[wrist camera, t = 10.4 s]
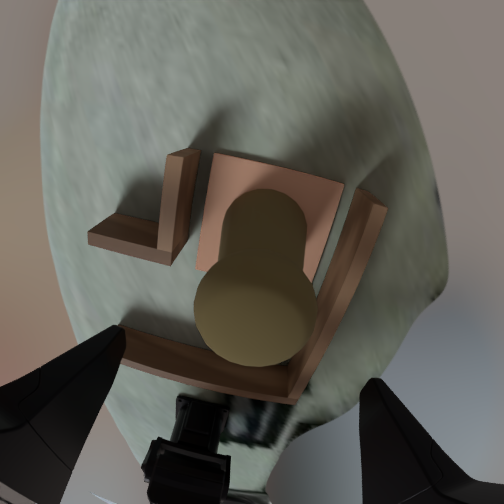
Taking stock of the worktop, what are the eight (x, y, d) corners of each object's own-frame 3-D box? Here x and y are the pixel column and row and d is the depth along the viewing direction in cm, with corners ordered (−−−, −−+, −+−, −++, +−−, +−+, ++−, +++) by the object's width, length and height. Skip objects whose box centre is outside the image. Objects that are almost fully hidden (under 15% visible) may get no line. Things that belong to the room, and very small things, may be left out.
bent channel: (294, 373, 27) (294, 404, 24) (119, 331, 27) (103, 357, 23) (368, 191, 19) (388, 208, 15) (119, 138, 18) (89, 145, 15)
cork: (217, 260, 22) (175, 371, 12) (228, 181, 19) (175, 252, 9) (296, 274, 22) (307, 393, 12) (315, 197, 19) (356, 283, 9)
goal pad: (306, 291, 23) (307, 294, 22) (196, 266, 23) (195, 269, 22) (343, 183, 19) (344, 184, 18) (215, 152, 19) (214, 153, 18)
